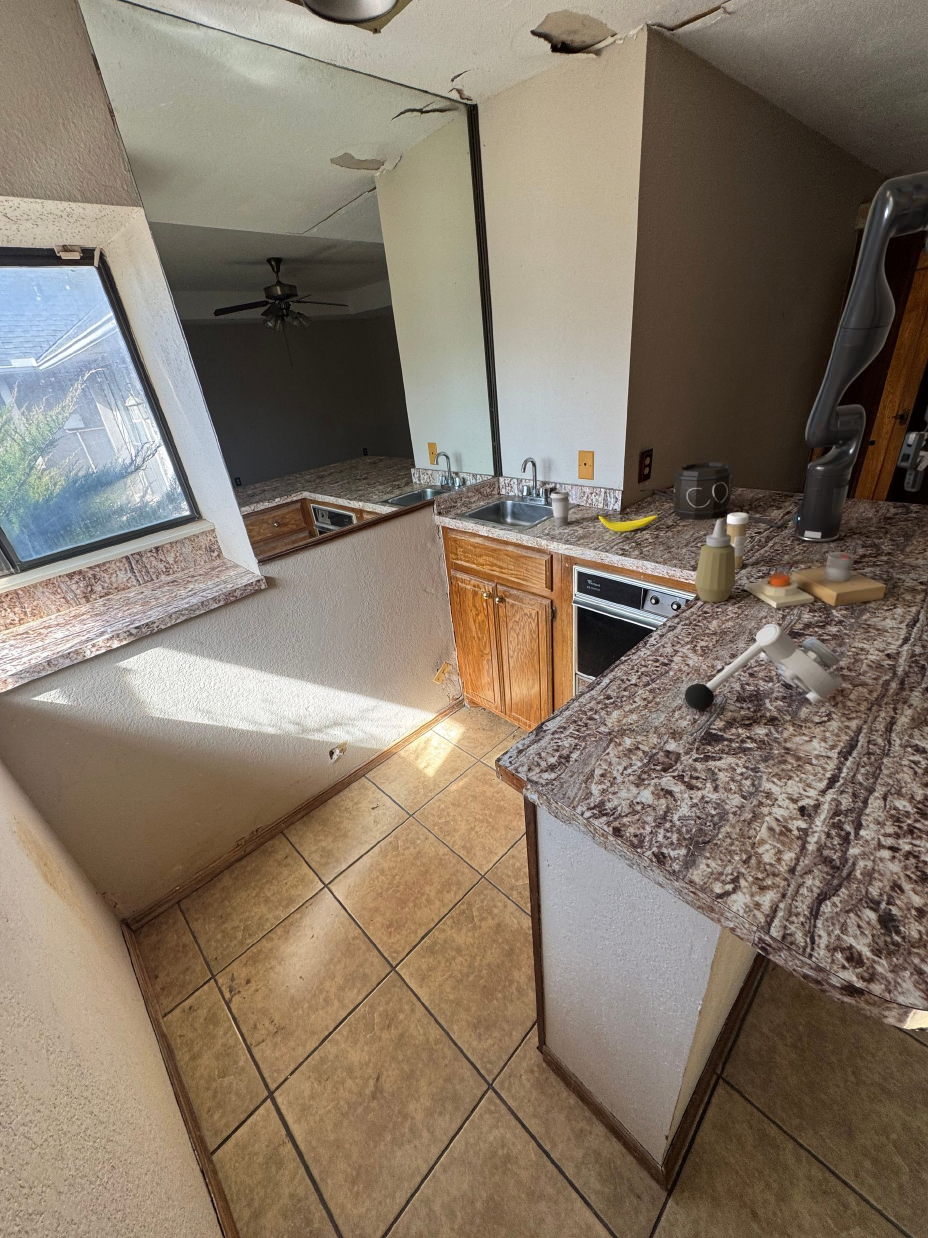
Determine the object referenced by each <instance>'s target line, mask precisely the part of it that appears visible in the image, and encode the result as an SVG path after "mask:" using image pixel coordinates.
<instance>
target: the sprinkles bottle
mask: <svg viewBox="0 0 928 1238" xmlns="http://www.w3.org/2000/svg"><path fill="white" fill-rule="evenodd" d="M730 513H731V514H728V515H726V525H727V526H726V534H728V535H730V536H731V543H730V544H731V545H732V546H733V547H734V548H735V569H741V568H742V567H743V565H744V564H743V558H744V554H745V546H746V538H747V528H748V523H749V519H748V518H749V516H750V515H749V514H748V513H746V512H740V511H739V512H730Z"/></svg>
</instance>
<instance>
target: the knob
mask: <svg viewBox="0 0 928 1238" xmlns="http://www.w3.org/2000/svg"><path fill="white" fill-rule="evenodd" d="M855 556H856V555H854V554H853V553H850V552H844V551H835V552H830V553H828V555H827V559H826V564H825V566H826V569H825V574H824V578H825V579H827V580H830V581H835V582H844V581H848V580H849V579H850V576H851V571H853V566H854V562H855Z"/></svg>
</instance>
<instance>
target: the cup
mask: <svg viewBox="0 0 928 1238" xmlns="http://www.w3.org/2000/svg"><path fill="white" fill-rule="evenodd" d="M570 495H571V494H570V492H569V490H566V489H560V490H554V491H552V492H551V493H550V495H549V498H550V499H551V508H552V514H553V515H552V516H553V519H554V525H555V527H565V526H568V525H569V512H570V511H569V510H570V509H569V508H570V507H569V505H570V499H569V497H570Z"/></svg>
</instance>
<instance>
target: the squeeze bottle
mask: <svg viewBox="0 0 928 1238" xmlns="http://www.w3.org/2000/svg"><path fill="white" fill-rule="evenodd" d="M730 543H731V536H730V535H728V534H727V532H726V528H725V521H724V518H718V519H716V522H715V525H714V529H713V531H712V533H711V534H708V535H707V536H706V542H705V544H704V545H703V546H701V547H700V553H699V558H698V563H697V569H696V574H695V579H694V585H695V589H696V591H697V595H698V598H699V599H701V600H702V601H705V602H708V603H720V602H721V603H722V602H724V601H725V602H726V601H727V600H728V599H729V597H730V595H731V593H732V591H733V590H734V587H735V585H736V568H735V548H734V547H733V546H732V545H731V544H730Z"/></svg>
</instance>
